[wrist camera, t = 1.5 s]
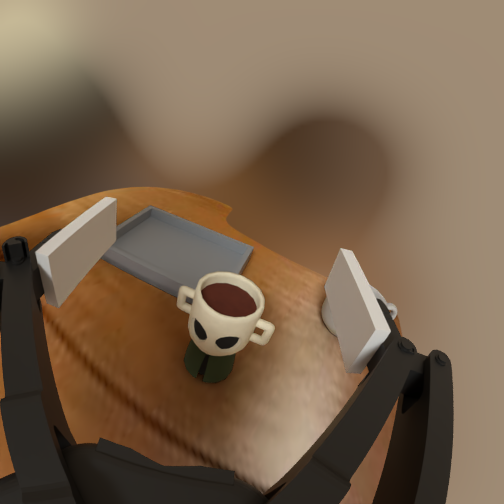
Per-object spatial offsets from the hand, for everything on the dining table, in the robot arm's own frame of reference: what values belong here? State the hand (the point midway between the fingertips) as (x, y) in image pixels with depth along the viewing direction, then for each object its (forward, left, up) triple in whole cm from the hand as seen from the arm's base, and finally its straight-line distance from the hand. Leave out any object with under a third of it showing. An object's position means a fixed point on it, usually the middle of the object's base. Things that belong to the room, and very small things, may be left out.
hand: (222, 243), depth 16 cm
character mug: (0, +8, -23) cm, 25 cm away
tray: (-14, +26, -23) cm, 37 cm away
